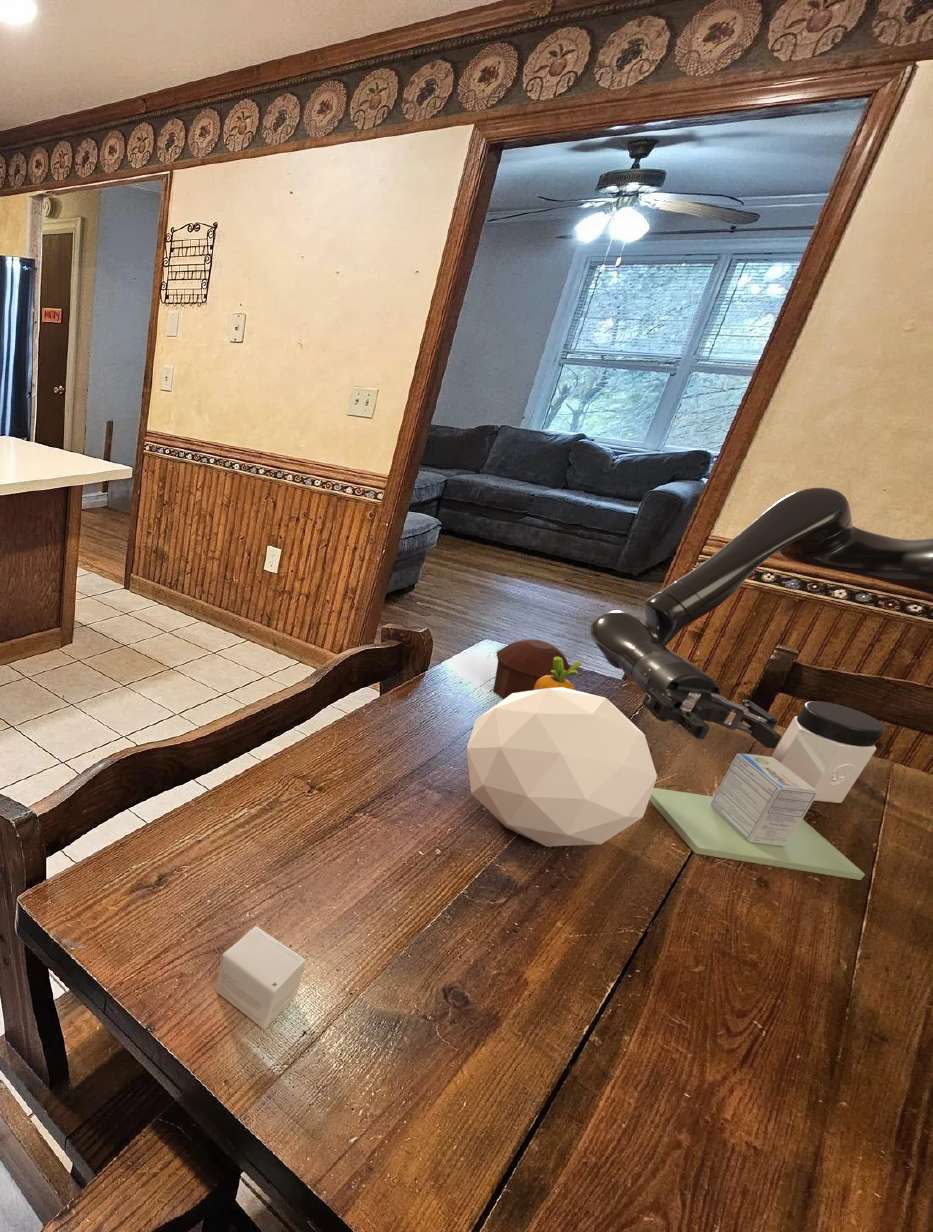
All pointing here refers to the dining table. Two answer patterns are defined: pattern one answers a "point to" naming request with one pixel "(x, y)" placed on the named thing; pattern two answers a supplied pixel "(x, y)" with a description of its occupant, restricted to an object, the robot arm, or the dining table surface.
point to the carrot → (557, 676)
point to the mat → (722, 840)
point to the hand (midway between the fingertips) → (739, 737)
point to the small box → (259, 976)
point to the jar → (829, 747)
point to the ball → (560, 766)
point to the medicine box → (763, 799)
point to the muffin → (524, 665)
